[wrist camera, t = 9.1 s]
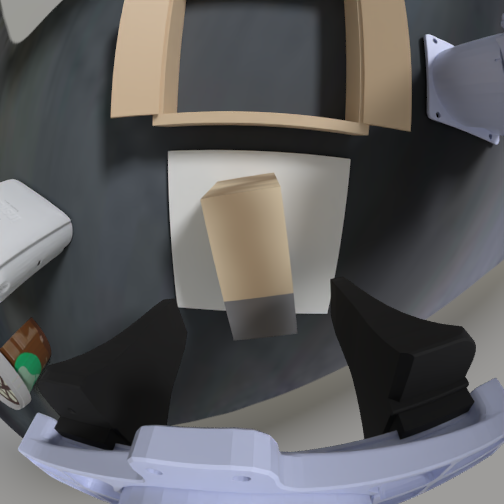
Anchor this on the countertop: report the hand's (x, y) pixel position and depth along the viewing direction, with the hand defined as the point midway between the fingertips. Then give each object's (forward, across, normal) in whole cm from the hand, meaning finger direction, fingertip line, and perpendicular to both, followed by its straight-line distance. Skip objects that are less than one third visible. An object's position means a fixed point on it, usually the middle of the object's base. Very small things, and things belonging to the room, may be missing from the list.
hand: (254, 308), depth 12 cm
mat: (+9, 0, 0) cm, 9 cm away
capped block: (+9, 0, 0) cm, 9 cm away
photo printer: (+10, +20, -6) cm, 23 cm away
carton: (+9, -3, -15) cm, 18 cm away
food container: (+10, +32, +11) cm, 35 cm away
